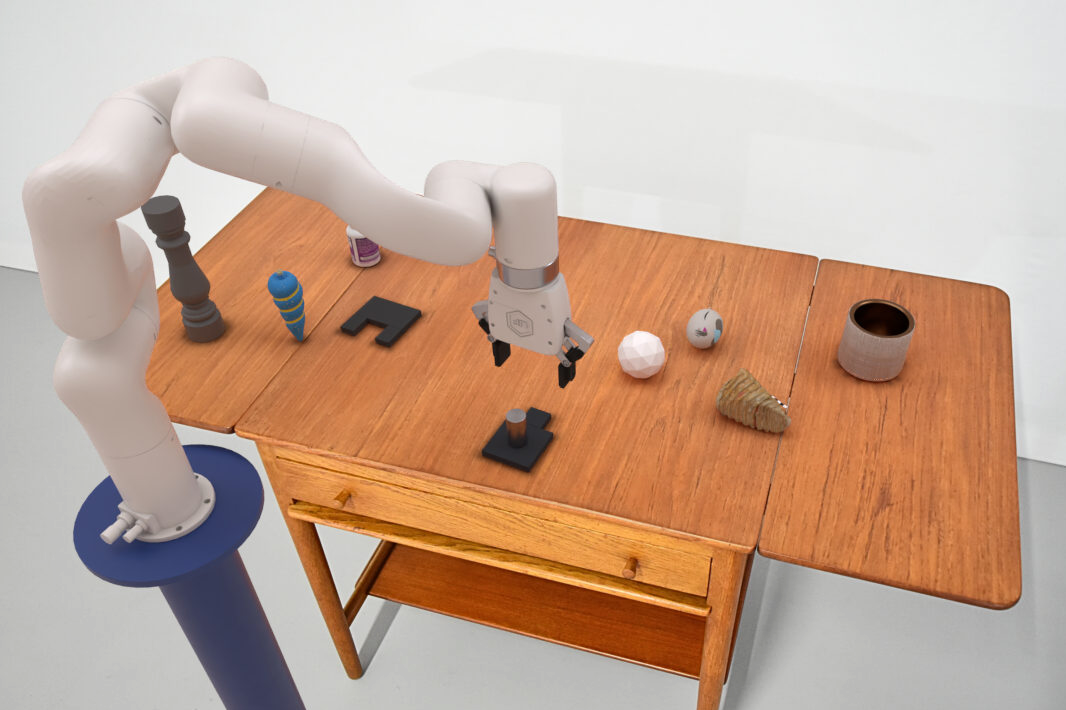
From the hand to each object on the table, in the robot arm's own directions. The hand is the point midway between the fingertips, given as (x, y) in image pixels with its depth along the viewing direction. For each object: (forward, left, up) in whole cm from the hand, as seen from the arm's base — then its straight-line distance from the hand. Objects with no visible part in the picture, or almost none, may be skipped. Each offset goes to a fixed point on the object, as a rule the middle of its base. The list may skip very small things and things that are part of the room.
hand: (534, 371), depth 120 cm
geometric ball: (+26, -5, -19) cm, 33 cm away
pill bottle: (+33, +55, -19) cm, 67 cm away
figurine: (+37, -12, -19) cm, 44 cm away
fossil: (+25, -25, -19) cm, 41 cm away
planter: (+45, -39, -19) cm, 63 cm away
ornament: (+8, +51, -19) cm, 55 cm away
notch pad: (+17, +41, -19) cm, 48 cm away
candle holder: (+3, +67, -19) cm, 70 cm away
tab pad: (+4, +5, -19) cm, 20 cm away
